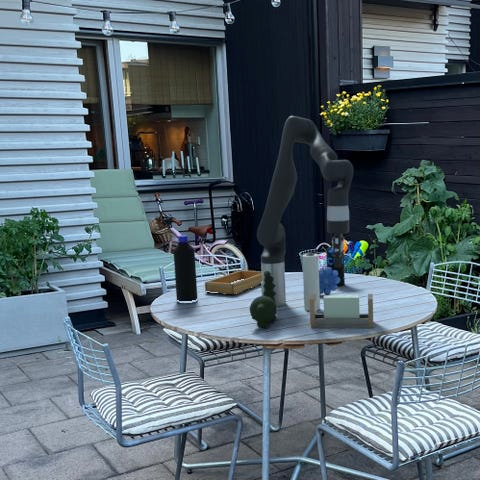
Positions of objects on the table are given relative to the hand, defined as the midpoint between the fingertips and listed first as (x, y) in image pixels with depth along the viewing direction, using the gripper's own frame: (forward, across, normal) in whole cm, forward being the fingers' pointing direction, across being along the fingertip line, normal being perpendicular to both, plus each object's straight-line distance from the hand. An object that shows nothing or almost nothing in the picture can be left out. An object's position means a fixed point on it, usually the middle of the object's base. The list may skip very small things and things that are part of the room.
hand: (338, 265), depth 216 cm
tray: (+23, +57, +50) cm, 79 cm away
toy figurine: (+22, -2, +26) cm, 34 cm away
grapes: (+21, +43, +8) cm, 49 cm away
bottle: (+22, +30, +66) cm, 76 cm away
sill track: (+21, -3, -1) cm, 21 cm away
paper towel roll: (+21, +19, +11) cm, 31 cm away
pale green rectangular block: (+20, -3, -1) cm, 20 cm away
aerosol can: (+21, +62, +5) cm, 66 cm away
